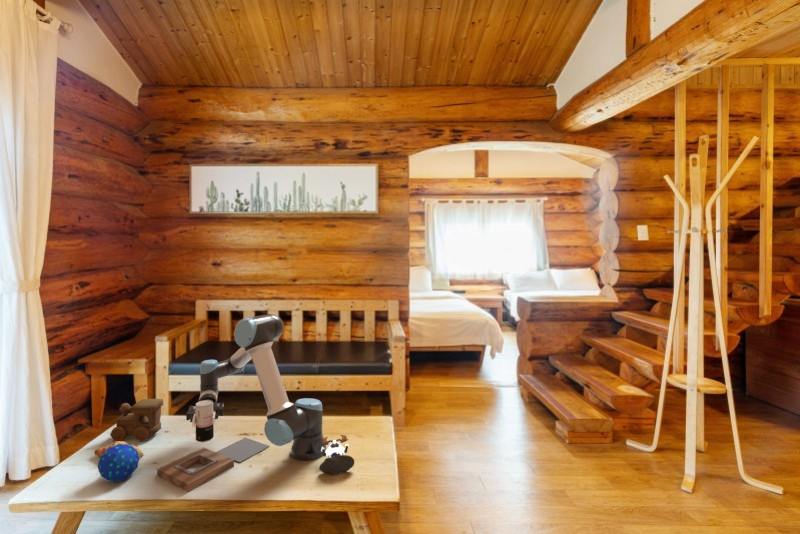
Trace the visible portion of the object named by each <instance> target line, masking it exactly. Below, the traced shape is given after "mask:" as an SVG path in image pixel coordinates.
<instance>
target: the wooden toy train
mask: <svg viewBox="0 0 800 534" xmlns="http://www.w3.org/2000/svg"><path fill="white" fill-rule="evenodd" d="M162 406H164V399H163V398H146V399H145V398H144V399H141V400H139V401H138V402H136V403H134V404H133V405H132V406H131V405H130V403H128V402H124V403H122V404H121V405H120V407H119V409H118V410H119V411H120V413H121V415H120V416H118V417H117V418H116V423H115V425H116V427H113V428H112V430H111V431H110V433H109V436H110V438H111V439H112V440H113V442H118V441H125V439H126V438H127V437H134V439H135V440H136V441H137V442H145V441H147V440H148V439H149V437H152V436H154V435H155V434H156V433H157V432H159V431H160V430H162V422H161V417H162V415H161V414H162ZM129 412H130V413H129Z"/></svg>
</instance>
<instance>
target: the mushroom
mask: <svg viewBox="0 0 800 534" xmlns="http://www.w3.org/2000/svg"><path fill="white" fill-rule="evenodd" d="M131 445H132V444H129V443H128V444H117V445H115V446H112V447H110V448H108V449H106V451H105V452H104V453H103V454H102V455H101V456H100V458H98V463H97V469H98V473H99V475H100V477H102V478H103V479H105V480H106V481H108V482H111V483H112V482H116V483H117V482H118V483H120V482H123V481H124V480H127V479H128V478H130V477H131V476H132V475H133V473H134V472H135V471H136V470H137V468H138V466H139V461H140V458H139V454H138V452H137V449H135V448H134V447H133V446H131Z"/></svg>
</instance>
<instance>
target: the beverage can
mask: <svg viewBox="0 0 800 534" xmlns="http://www.w3.org/2000/svg"><path fill="white" fill-rule="evenodd" d="M198 401H199V400H198ZM194 407H195V410H194V411H195V416H196V423H195V441H196V442H198V443H206V442H209V441H211V440H212V439H213V438H214V424H213V419H212V418H213V401H211V400H203V401H199V402H196V403H195V406H194Z"/></svg>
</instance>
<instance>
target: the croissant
mask: <svg viewBox="0 0 800 534" xmlns="http://www.w3.org/2000/svg"><path fill="white" fill-rule="evenodd" d="M117 444H129V443H128V442H126V441H125V440H123V441H113V442H112V443H111V444H108V445H106V446H104V447H99V448H97V449H95V450H94V451H93V453H94V455H95V456H97V458H98V459H99V458H100V456H101V455H102V454H103V453H104V452H105V451H106V449H108V448H110V447H112V446H115V445H117ZM130 445H131V446H133V447H134V448H135V449H137V452H138V454H139V459H140V458H142V457H144V452H143V451H142V449H141V448H138V447H137V446H136V445H135V444H130Z"/></svg>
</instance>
